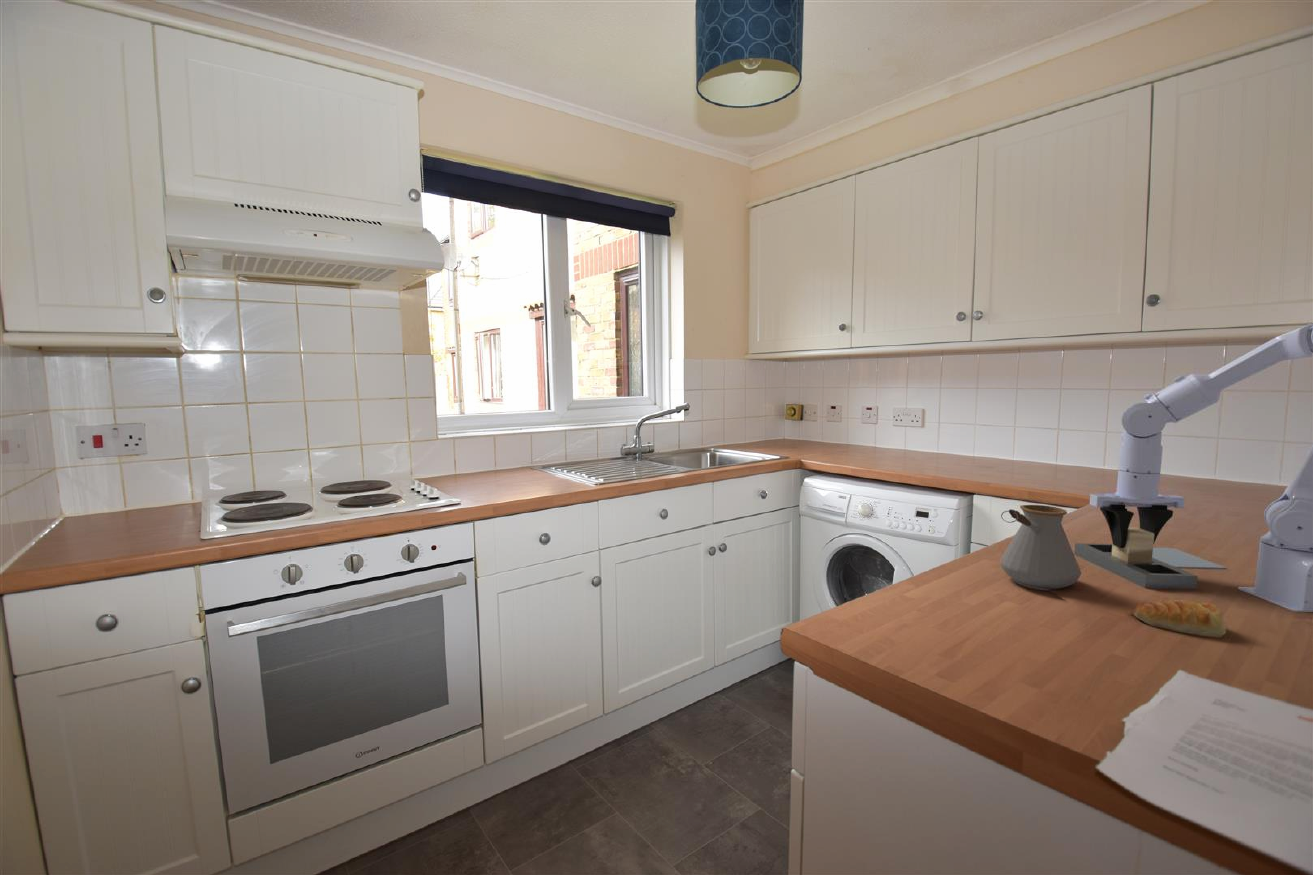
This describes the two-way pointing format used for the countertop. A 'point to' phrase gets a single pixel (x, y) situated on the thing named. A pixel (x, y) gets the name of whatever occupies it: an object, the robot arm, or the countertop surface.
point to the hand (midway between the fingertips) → (1132, 546)
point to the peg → (1136, 546)
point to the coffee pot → (1040, 550)
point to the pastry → (1183, 617)
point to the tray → (1137, 568)
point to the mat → (1182, 559)
